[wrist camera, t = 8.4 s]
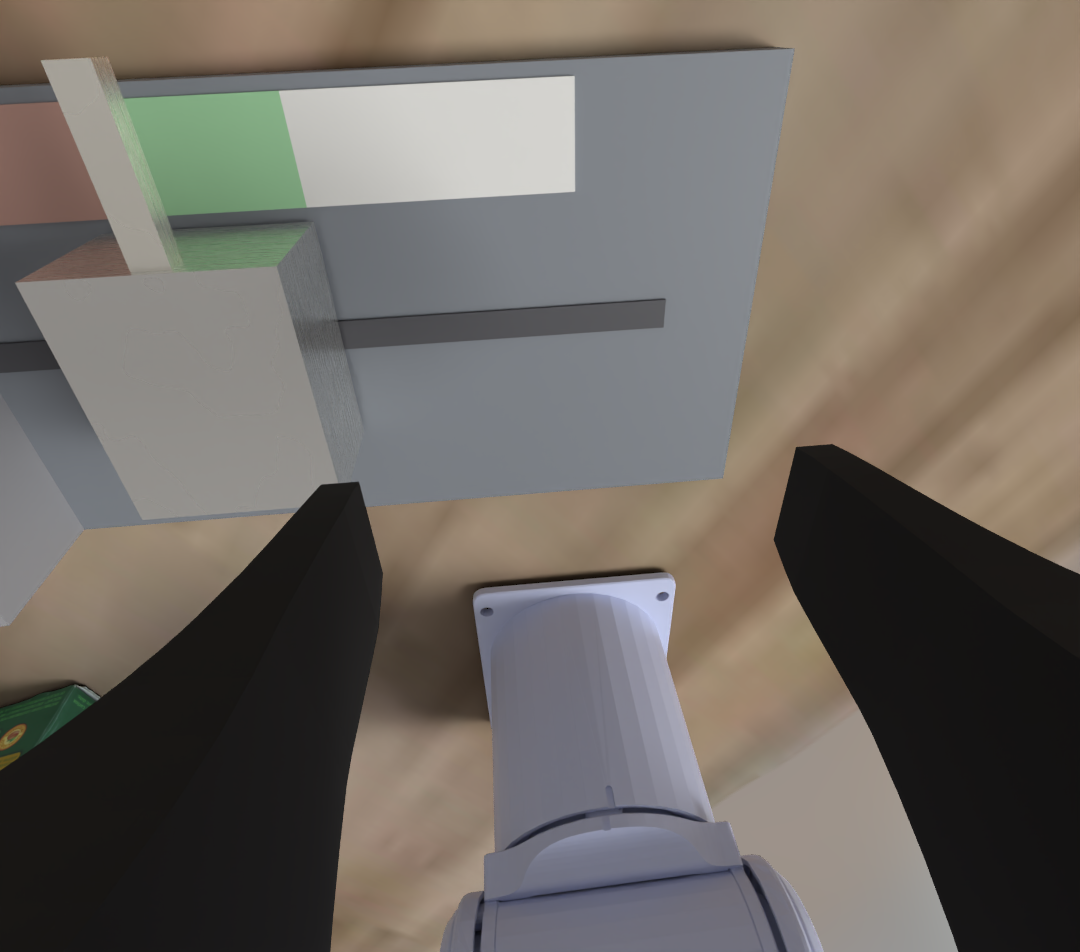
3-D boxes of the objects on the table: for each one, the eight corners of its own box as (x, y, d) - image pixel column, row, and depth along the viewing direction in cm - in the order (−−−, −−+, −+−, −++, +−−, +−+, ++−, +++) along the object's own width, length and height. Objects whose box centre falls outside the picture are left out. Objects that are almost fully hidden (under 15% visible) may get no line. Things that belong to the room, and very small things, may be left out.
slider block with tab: (364, 431, 19) (344, 503, 16) (193, 444, 18) (142, 520, 16) (271, 46, 13) (215, 52, 10) (25, 57, 13) (-102, 67, 10)
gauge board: (713, 461, 22) (767, 560, 18) (6, 517, 21) (-106, 635, 17) (777, 47, 15) (889, 55, 11) (-287, 100, 14) (-602, 130, 10)
